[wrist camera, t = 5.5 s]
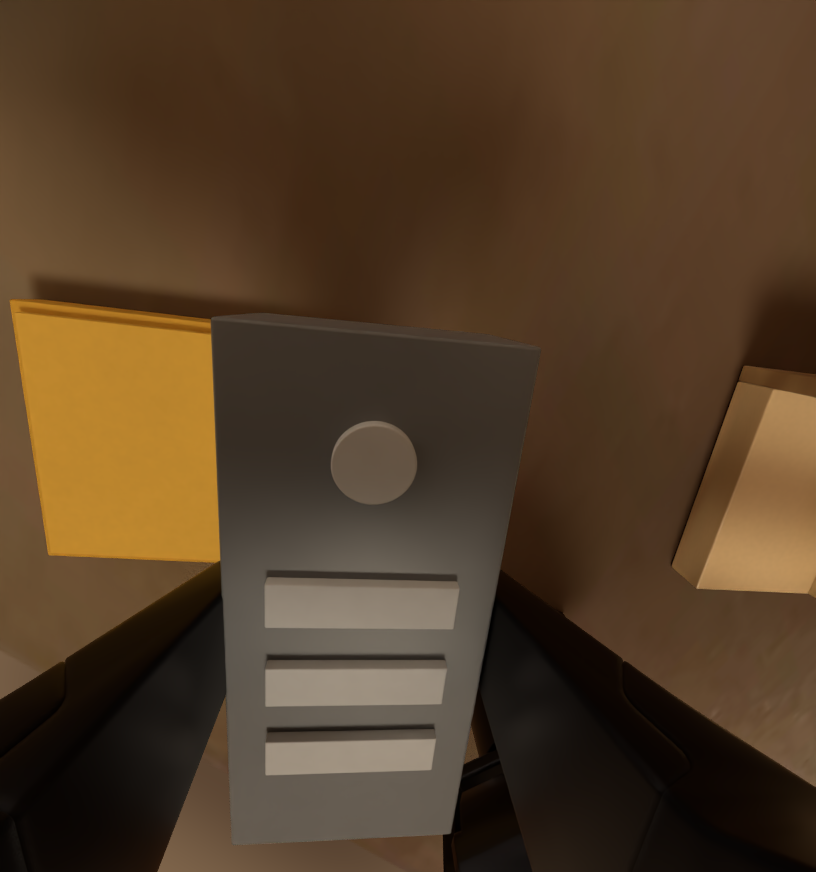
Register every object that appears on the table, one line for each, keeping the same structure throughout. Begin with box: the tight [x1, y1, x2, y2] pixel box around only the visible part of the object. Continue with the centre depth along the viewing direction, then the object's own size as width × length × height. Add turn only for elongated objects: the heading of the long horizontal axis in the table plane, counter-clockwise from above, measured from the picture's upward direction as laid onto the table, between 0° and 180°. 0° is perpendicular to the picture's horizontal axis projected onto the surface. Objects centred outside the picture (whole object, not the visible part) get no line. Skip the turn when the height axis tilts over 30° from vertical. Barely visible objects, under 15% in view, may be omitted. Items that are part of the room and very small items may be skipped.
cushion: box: [10, 299, 220, 563], centre depth 18 cm, size 11×12×2 cm
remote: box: [211, 313, 541, 845], centre depth 8 cm, size 10×4×3 cm, turn 175°
